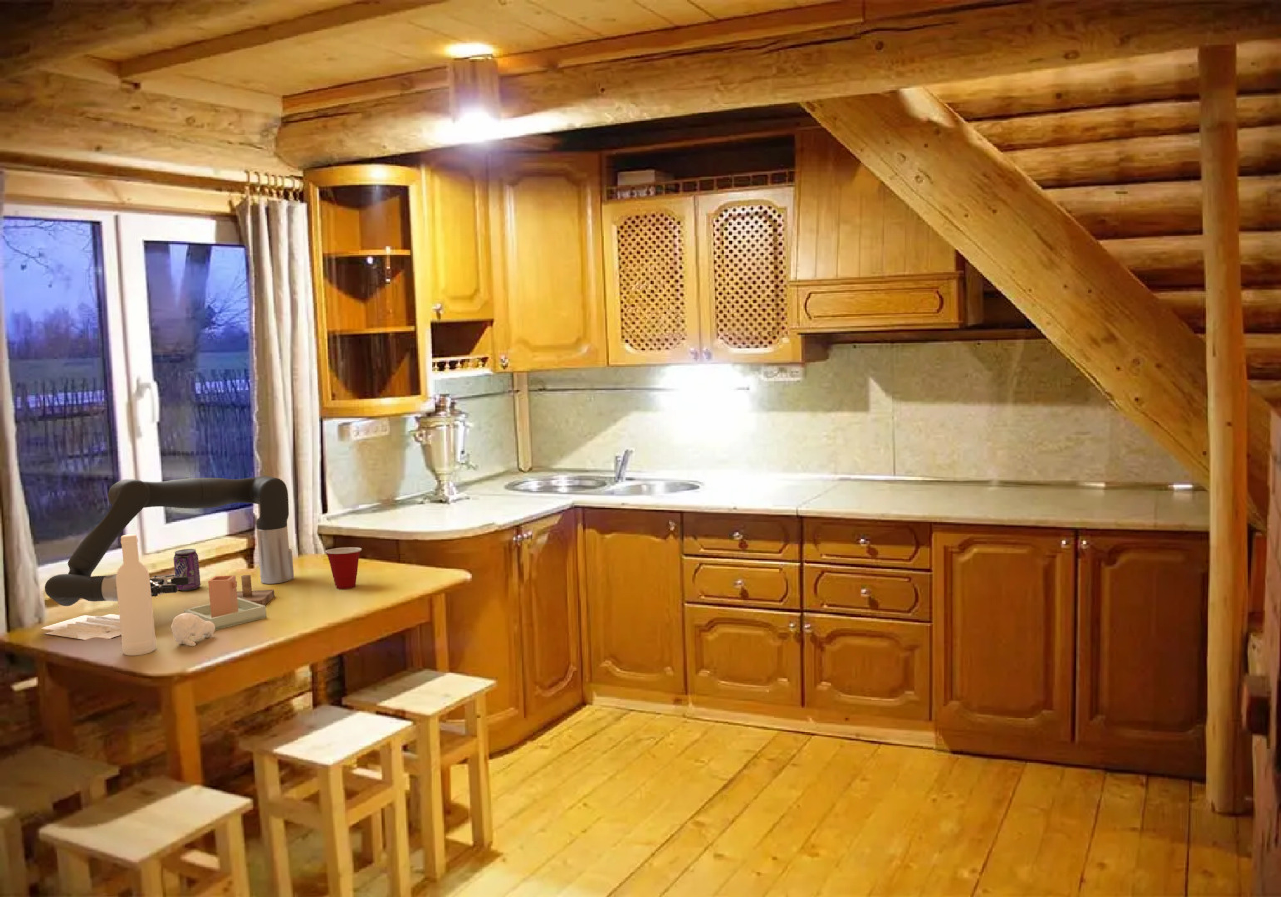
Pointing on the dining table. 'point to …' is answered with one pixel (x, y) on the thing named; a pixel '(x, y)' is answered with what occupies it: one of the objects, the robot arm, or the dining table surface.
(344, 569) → the plastic cup
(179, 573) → the beverage can
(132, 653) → the bottle
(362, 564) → the dining table surface
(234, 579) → the sleeve
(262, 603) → the stand
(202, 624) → the animal figurine
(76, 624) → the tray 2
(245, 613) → the tray
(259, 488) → the robot arm
